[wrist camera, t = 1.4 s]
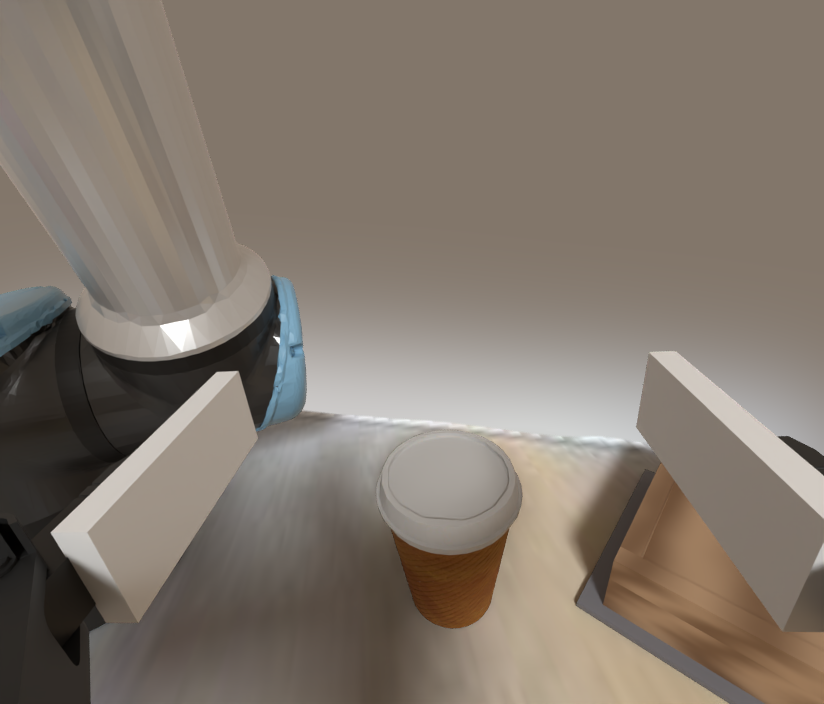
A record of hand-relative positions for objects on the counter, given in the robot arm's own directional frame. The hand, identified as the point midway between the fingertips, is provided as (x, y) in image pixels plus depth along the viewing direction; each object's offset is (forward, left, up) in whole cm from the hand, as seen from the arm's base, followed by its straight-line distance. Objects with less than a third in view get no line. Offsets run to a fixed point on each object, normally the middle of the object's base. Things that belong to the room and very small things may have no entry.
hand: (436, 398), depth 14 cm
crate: (+12, +20, -23) cm, 33 cm away
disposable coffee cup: (-5, +7, -24) cm, 26 cm away
